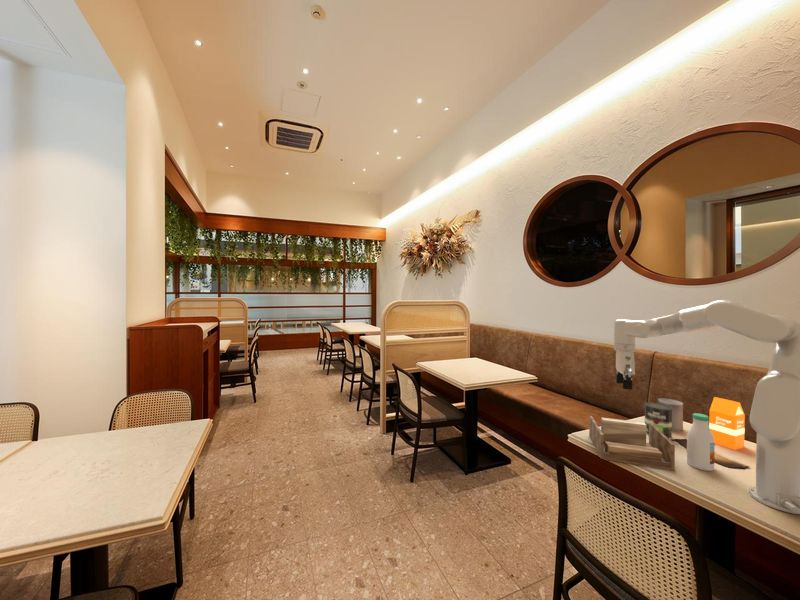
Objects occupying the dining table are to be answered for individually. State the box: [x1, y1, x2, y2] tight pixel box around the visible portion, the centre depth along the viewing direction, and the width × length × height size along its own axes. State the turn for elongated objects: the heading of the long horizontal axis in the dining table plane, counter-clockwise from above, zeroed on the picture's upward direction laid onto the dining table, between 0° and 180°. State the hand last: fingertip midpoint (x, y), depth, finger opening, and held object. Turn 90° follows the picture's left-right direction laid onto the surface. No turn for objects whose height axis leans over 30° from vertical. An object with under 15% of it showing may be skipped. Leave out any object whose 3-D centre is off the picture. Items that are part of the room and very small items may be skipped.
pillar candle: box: [657, 397, 684, 433], centre depth 158 cm, size 10×10×15 cm
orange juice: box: [708, 396, 746, 450], centre depth 141 cm, size 8×9×20 cm
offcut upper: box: [605, 441, 662, 458], centre depth 127 cm, size 4×18×2 cm, turn 72°
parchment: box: [671, 438, 750, 470], centre depth 132 cm, size 25×10×1 cm, turn 8°
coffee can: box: [644, 402, 673, 440], centre depth 150 cm, size 10×10×14 cm
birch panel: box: [600, 417, 647, 447], centre depth 139 cm, size 3×16×10 cm, turn 69°
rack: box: [588, 415, 676, 472], centre depth 133 cm, size 22×24×10 cm
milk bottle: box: [686, 412, 716, 472], centre depth 122 cm, size 8×8×20 cm
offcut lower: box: [605, 447, 662, 461], centre depth 127 cm, size 4×18×2 cm, turn 69°
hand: (623, 386), depth 138 cm, fingers open, 9 cm apart
